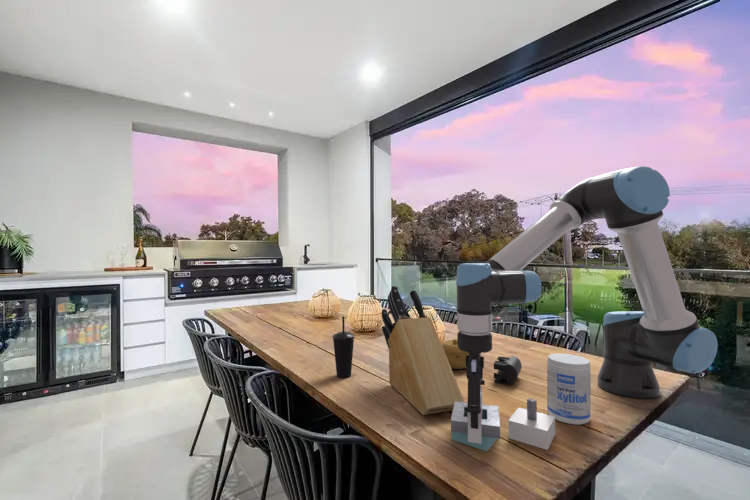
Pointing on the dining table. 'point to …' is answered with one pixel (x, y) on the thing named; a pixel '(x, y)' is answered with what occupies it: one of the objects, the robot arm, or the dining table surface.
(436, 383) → the knife block
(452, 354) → the pot
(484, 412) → the square block with hole
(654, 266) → the robot arm
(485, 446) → the teal peg base
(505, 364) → the end cap
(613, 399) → the dining table surface
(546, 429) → the stand
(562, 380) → the supplement tub
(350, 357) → the drinking cup
